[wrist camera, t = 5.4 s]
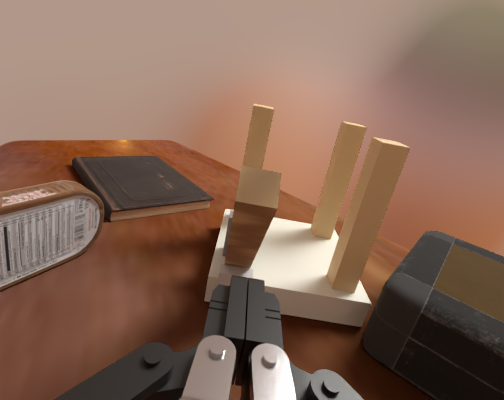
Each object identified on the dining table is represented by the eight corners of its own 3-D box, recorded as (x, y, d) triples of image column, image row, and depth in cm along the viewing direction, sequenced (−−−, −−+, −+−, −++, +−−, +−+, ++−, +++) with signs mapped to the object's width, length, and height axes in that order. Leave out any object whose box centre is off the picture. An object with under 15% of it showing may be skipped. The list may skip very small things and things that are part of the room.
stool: (201, 313, 28) (232, 118, 22) (222, 227, 45) (243, 100, 38) (367, 340, 29) (445, 159, 23) (328, 246, 46) (367, 125, 39)
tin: (90, 237, 36) (89, 170, 33) (109, 247, 35) (110, 179, 32) (-85, 308, 24) (-113, 210, 20) (-65, 327, 22) (-91, 226, 19)
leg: (223, 270, 30) (235, 201, 17) (227, 247, 31) (241, 165, 18) (247, 274, 30) (277, 208, 17) (250, 251, 31) (281, 173, 18)
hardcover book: (156, 166, 66) (157, 155, 65) (211, 210, 51) (213, 198, 50) (72, 169, 56) (71, 156, 55) (108, 226, 40) (109, 210, 40)
